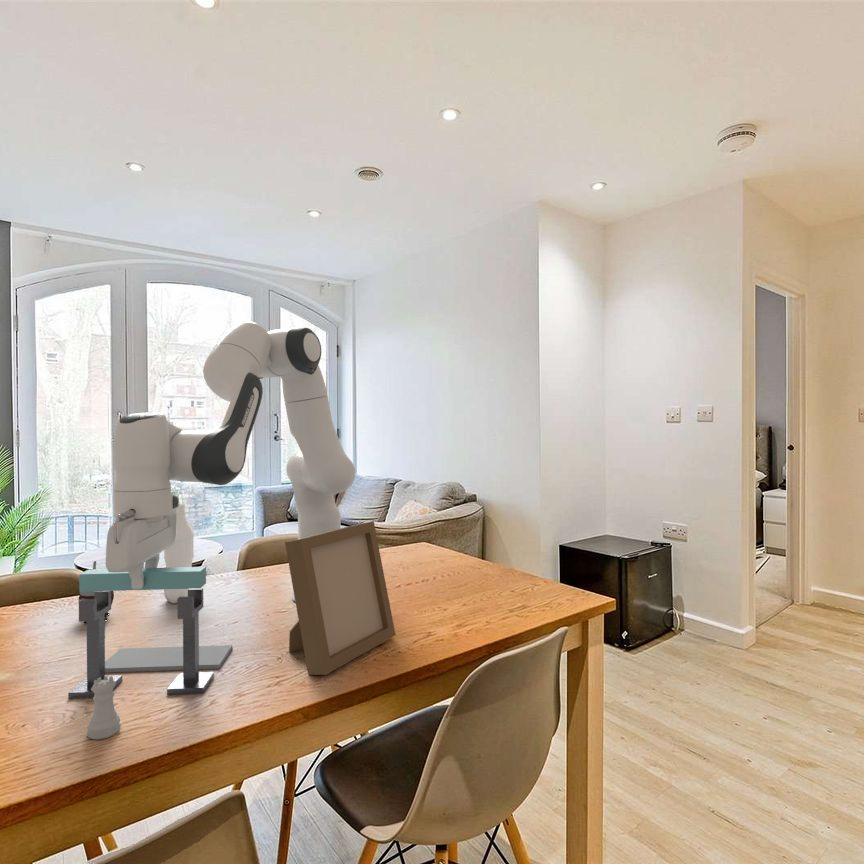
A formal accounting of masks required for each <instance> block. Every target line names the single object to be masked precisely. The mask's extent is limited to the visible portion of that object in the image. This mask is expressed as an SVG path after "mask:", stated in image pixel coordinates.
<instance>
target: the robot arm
mask: <svg viewBox="0 0 864 864" xmlns="http://www.w3.org/2000/svg"><path fill="white" fill-rule="evenodd" d="M321 358H322V345H321V341H320V339H319V338H318V335H316V333H315V332H314V331H313V330H312V329H311V328H309V327H304V326H292V327H291V328H279V329H272V330H269V331H268V330H267V329H266V328H265V327H264V326H262V325H261V324H259V323H257V322H254V321H246V320H245V321H240V322H238V323H236V324H234V326H232V327H231V328H230V329H229V330H227V332H226V333H225V334H224V335H223V336H222V337H221V338H220V340H219V341H218V342H217V343H216V344H215V346H214V347H213V349H212V350H211V352H210V353H209V354H208V356H207V358H206V359H205V362H204V364H203V368H202V371H203V372H202V373H203V378H204V380H205V383H206V385H207V387H209V389H210V390H211V392H212V393H214V394H215V395H216V396H217V397H219V398H221V399H222V400H224V401H227V402H230V403H229V405H228V407H227V410H226V413H225V415H224V417H223V420H222V423H221V424H220V425H218V426H217V427H214V428H211V429H208V430H187V429H186V430H185V429H182V428H180V427H178V426H176V425H174V424H173V423H171V422H170V421H169V420H168V418H167V417H166V415H165V413H162V412H159V411H144V412H134V413H130V414H129V413H128V414H126V415H124V416H122V417H121V418H119V419H118V421H117V423H116V426H115V429H114V434H113V435H114V436H113V445H112V447H113V451H112V453H113V454H112V455H113V457H112V459H113V460H112V463H113V468H114V470H115V483H114V486H113V507H114V508H113V516H114V518H115V521H114V522H113V523H112V524H111V525H110V526H109V528H108V530H107V535H106V536H107V537H106V544H105V547H106V549H105V567H106V568H105V569H107V570H108V571H109V572H128V573H129V575H130V578H131V584H132V588H133V589H141V588H143V587H144V586H145V585H146V576H144V575H143V570H142V569H143V568H158V566H159V565H158V564H159V562H160V554H161V553H162V552H164V550H165V549H167V548H169V547H170V546H172V545H173V544H174V542H175V538H176V528H177V512H176V508H178V507H179V504H180V498H179V496H178V495H176V494H173V492H172V486H171V485H172V484H171V481H175V482H176V481H177V482H188V483H191V482H192V483H203V484H209V485H210V484H211V485H217V486H225V485H228V484H229V483H231V482H232V481H234V480H235V479H236V478H237V477H238V476H239V475H240V473H241V472H242V471H243V468H244V466H245V462H246V458H247V448H248V444H249V441H250V438H251V434H252V431H253V428H254V425H255V422H256V419H257V417H258V413H259V410H260V407H261V403H262V400H263V392H264V391H263V389H264V388H263V384H262V381H261V380H262V379H264V378H279V377H280V379H281V383H282V384H281V385H282V395H283V400H284V406H285V411H286V415H287V422H288V426H289V432H290V434H291V435H292V437H293V438H294V440H295V441H296V444H297V446H298V447H299V449H300V450H299V451H298V452H296V453H294V454H293V455H291V456H290V458H289V459H288V461H287V464H286V468H285V469H286V474H287V477H288V479H289V481H290V482H291V487H292V491H293V497H294V502H295V506H296V510H297V512H296V513H297V536H298V537H297V539H300V538H304V537H308V536H312V535H316V534H320V533H324V532H328V531H332V530H336V529H340V528H342V525H341V518H342V517H341V513H340V510H339V508H338V507H337V504H336V501H335V496H334V495H335V494H340V493H344V492H346V491H347V490H348V489H349V488H351V486H352V485H353V483H354V481H355V477H356V467H355V465H354V463H353V461H352V460H351V459H350V458H349V456H348V455H347V454H346V452H345V450H344V448H343V445H342V443H341V441H340V439H339V436H338V434H337V431H336V429H335V426H334V422H333V418H332V413H331V407H330V401H329V395H328V392H327V387H326V383H325V380H324V376H323V374H322V370H321V368H320V365H319V364H320V361H321ZM291 599H292V600H293V601H294V602H295V596H294V591H293V592H292V596H291Z"/></svg>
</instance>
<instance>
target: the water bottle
mask: <svg viewBox="0 0 864 864" xmlns="http://www.w3.org/2000/svg"><path fill="white" fill-rule="evenodd" d="M186 510H187V509H186V503H179V507H178V508H176V512H177V528H176V538H175V542H174V544H173V545H172V546H170V547H169V548H167V549H165V550H164V551H163V552H164V553H163V554H164V555H163V558H164V562H165V568H171V567H193V566H192V565H193V559H194V557H195V554H194V553H195V552H194V551H195V550H194V546H195V545H194V543H195V541H194V540H195V539H194V538H195V534H194V530H193V528H192V526H191V524H190V523H189V521H188V520H187V516H186V514H187V511H186ZM163 595H164V597H165V600H166V601H167V602H169V603H171V604H177V599H178V598H179V597H188V589H163Z"/></svg>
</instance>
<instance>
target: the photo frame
mask: <svg viewBox="0 0 864 864" xmlns="http://www.w3.org/2000/svg"><path fill="white" fill-rule="evenodd" d="M284 545H285V550H286V556H287V560H288V561H287V562H288V566H289V567H288V568H289V572H290V579H291V584H292V590H293V592H294V596H295V601H294V602H295V607H296V612H297V618H298V620H297V622H296V623H294V625H293V626H292V628H291V629H290V630H289V635H288V636H289V638H288V641H289V642H288V643H289V645H288V652H289V653H294V652H299V651H303V652H304V657H305V658H304V659H305V665H306V668H307V669H306V670H307V674H308V675H309V676H311V675H313V676H317V675H318V676H319V675H321V676H323V675H324V676H325V675H327V674H329V673H331V672H333V671H334V670H336V669H338V668H340V667H341V666H343V665H345V664H347V663H348V662H350V661H352V660H354V659H356V658H358V657H360V656H362V655H363V654H365V653H366V652H368V651H370V650H372V649H374V648H375V647H377V646H379V645H381V644H382V643H385V642H386V641H388V640H389V639H391V638H393V637H394V636H396V629H395V625H394V619H393V615H392V610H391V605H390V599H389V594H388V588H387V583H386V578H385V572H384V567H383V563H382V557H381V552H380V547H379V542H378V536H377V531H376V527H375V521H374V520H372V521H367V522H362V523H358V524H352V525H349V526H344V527H341V528H340V529H336V530H332V531H328V532H324V533H320V534H316V535H312V536H308V537H304V538H300V539H298V538H296V539H293V540H289V541H285V542H284Z"/></svg>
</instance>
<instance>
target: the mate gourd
mask: <svg viewBox="0 0 864 864" xmlns="http://www.w3.org/2000/svg"><path fill="white" fill-rule="evenodd" d="M92 569H97V561H96V560H95V561H93V563H92ZM94 592H95V591H89V592H79V596H78V602H79V601H80V600H81V599H94ZM114 593H115V591H111V606H112V605H113V602H114V599H115V597H114V596H115V594H114ZM108 614H109V615H110V612H109V611H108V612H106V613H105V620H107V619H108V620H109V618H107V616H106V615H108ZM109 615H108V616H109ZM108 620H107V621H108ZM84 623H87V621H86V622H83V624H84Z"/></svg>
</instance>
